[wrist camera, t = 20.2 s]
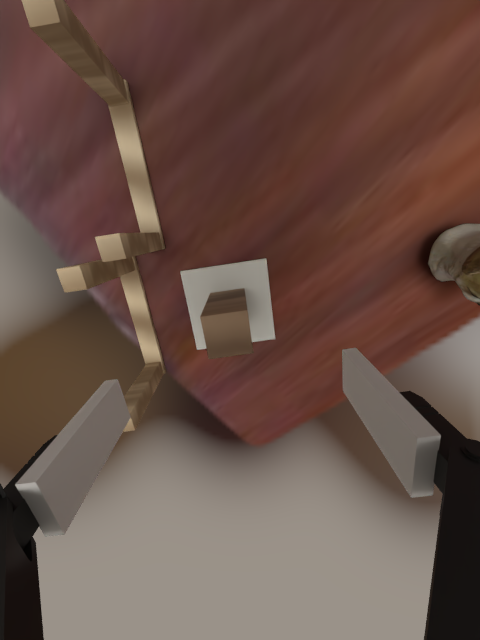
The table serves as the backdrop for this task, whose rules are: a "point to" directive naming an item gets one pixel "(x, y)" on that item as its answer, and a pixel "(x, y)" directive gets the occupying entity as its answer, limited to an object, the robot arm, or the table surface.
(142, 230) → the gate
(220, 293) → the walnut block
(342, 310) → the table surface
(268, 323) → the pad
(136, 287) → the gate
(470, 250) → the ceramic sculpture
